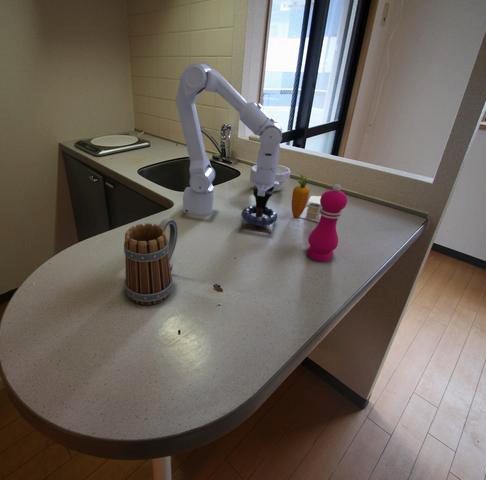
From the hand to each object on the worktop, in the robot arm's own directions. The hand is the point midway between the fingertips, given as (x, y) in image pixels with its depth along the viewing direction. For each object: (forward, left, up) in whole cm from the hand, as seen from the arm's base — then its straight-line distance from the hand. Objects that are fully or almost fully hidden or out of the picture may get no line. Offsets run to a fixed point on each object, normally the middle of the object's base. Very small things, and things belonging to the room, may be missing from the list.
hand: (261, 209), depth 99 cm
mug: (-18, -40, -5) cm, 44 cm away
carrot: (+11, +6, -5) cm, 13 cm away
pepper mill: (+18, -14, -5) cm, 23 cm away
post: (0, -4, -4) cm, 6 cm away
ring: (0, -4, 0) cm, 4 cm away
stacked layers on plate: (+17, +12, -5) cm, 21 cm away
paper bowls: (-1, +32, -5) cm, 32 cm away
